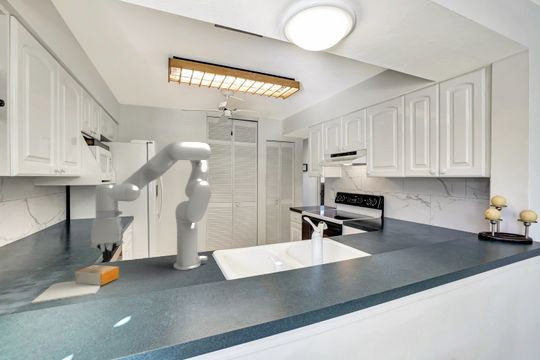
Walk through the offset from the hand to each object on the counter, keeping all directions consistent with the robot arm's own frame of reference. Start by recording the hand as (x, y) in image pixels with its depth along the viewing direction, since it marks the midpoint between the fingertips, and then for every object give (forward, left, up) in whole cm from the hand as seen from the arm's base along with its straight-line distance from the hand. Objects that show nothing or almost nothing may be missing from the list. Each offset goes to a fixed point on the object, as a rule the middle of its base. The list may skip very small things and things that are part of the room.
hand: (107, 260), depth 95 cm
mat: (+11, 0, -10) cm, 15 cm away
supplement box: (-1, -1, -7) cm, 7 cm away
